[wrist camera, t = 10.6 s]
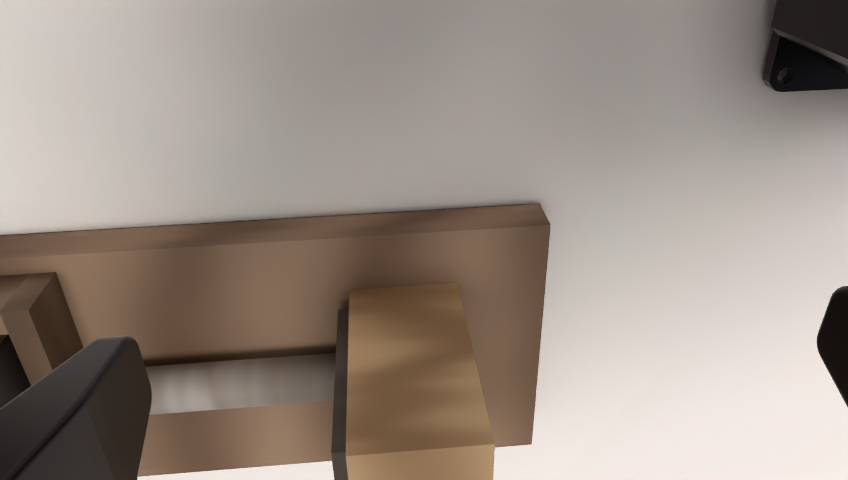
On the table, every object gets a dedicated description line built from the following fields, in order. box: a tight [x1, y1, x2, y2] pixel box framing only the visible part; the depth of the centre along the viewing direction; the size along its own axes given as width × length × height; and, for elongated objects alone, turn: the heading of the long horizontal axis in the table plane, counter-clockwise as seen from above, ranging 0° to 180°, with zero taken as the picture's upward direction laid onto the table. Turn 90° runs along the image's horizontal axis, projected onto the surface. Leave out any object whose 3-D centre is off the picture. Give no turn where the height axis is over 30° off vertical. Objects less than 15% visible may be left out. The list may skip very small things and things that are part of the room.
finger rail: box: [0, 204, 550, 480], centre depth 21 cm, size 24×10×8 cm, turn 91°
